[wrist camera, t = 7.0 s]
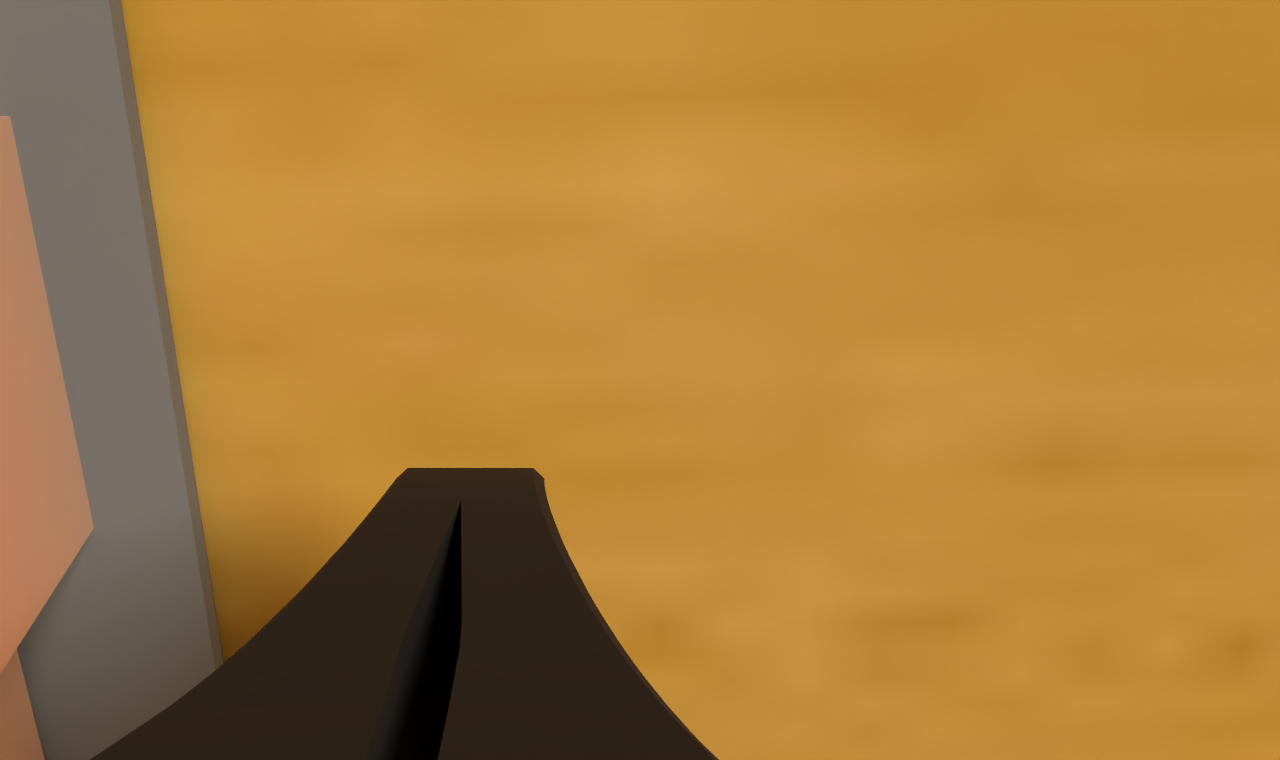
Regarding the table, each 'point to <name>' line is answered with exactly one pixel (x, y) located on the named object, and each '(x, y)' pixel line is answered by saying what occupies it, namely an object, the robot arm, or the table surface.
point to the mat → (106, 388)
